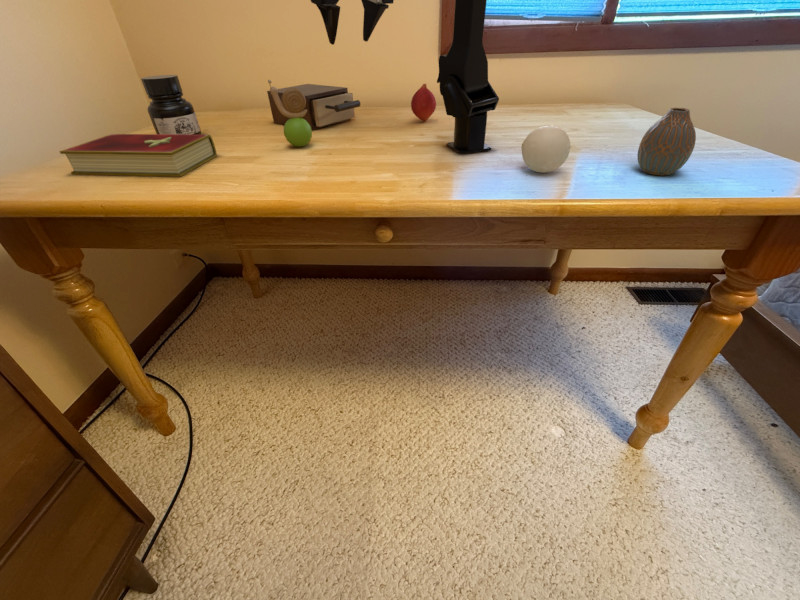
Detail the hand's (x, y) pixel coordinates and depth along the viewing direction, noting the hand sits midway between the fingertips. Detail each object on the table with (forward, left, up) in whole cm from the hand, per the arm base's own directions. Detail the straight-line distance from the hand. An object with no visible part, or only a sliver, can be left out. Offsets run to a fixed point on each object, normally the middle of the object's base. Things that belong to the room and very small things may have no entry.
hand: (349, 42), depth 81 cm
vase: (-52, -37, -16) cm, 65 cm away
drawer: (+5, +7, -15) cm, 17 cm away
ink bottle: (+4, +39, -16) cm, 43 cm away
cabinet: (+9, +10, -16) cm, 21 cm away
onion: (-4, -16, -16) cm, 23 cm away
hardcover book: (-15, +42, -16) cm, 48 cm away
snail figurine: (-14, +15, -16) cm, 26 cm away
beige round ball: (-45, -21, -16) cm, 52 cm away
